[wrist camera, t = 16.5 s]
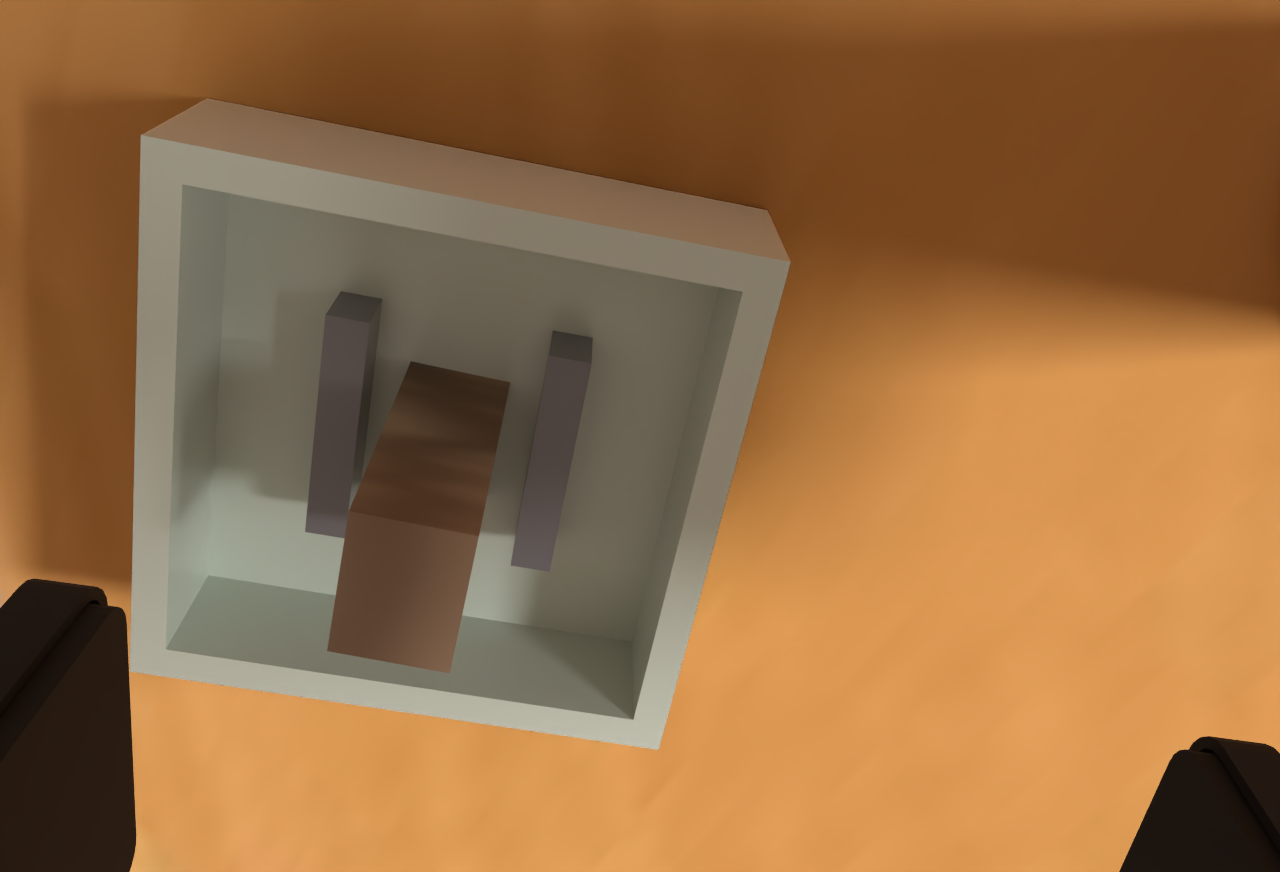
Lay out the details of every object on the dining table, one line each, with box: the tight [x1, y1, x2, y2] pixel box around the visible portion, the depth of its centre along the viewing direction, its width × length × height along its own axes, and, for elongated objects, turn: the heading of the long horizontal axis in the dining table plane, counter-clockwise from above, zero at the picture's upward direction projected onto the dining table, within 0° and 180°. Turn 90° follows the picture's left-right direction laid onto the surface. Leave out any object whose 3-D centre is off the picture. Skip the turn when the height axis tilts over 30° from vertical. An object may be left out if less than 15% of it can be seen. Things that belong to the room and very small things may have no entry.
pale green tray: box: [130, 98, 791, 750], centre depth 34 cm, size 16×16×5 cm
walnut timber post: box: [327, 361, 510, 673], centre depth 32 cm, size 3×4×9 cm
